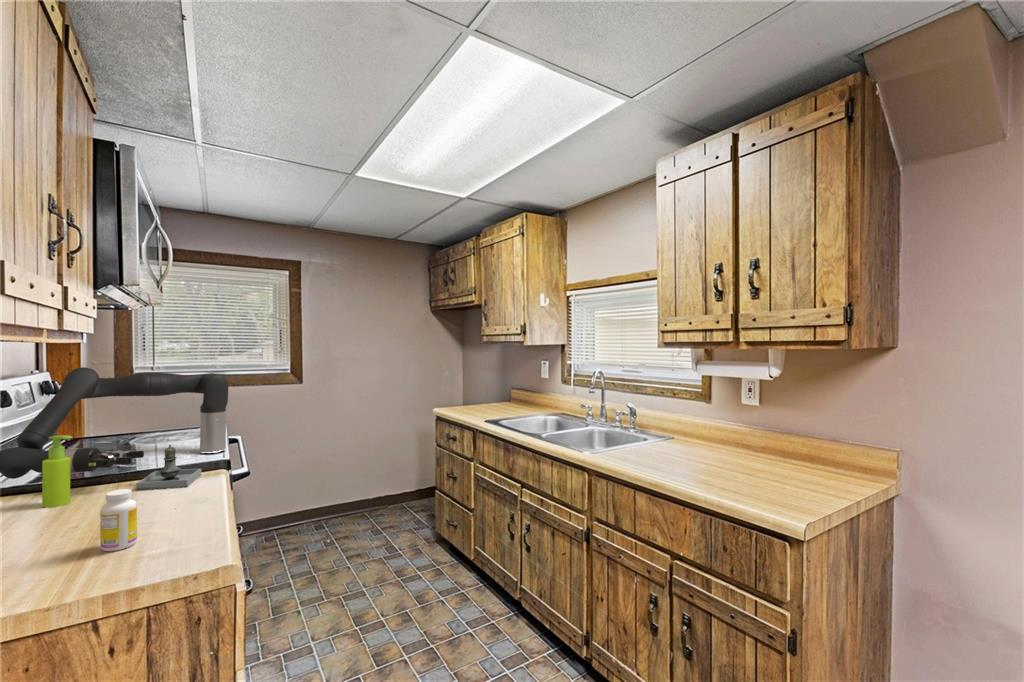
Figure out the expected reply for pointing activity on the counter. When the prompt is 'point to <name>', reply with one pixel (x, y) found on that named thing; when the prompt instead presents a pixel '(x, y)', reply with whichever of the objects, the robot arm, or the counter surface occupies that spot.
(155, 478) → the tray
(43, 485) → the soap dispenser
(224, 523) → the counter surface
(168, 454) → the dark gray chess piece
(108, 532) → the supplement bottle
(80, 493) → the counter surface
